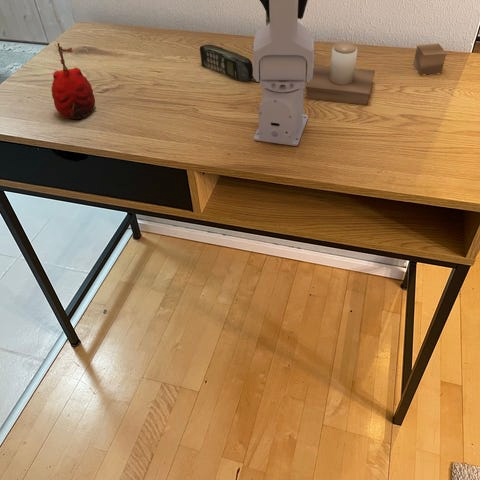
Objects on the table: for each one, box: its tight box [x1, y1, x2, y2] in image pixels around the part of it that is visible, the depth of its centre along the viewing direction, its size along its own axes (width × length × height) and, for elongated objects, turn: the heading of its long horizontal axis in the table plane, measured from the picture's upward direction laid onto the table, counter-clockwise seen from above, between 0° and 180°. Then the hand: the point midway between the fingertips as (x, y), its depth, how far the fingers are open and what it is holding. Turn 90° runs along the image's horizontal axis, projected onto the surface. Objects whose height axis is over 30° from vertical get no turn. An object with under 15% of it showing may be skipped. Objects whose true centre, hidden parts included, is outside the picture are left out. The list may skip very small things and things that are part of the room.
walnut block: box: [412, 43, 447, 76], centre depth 103 cm, size 4×4×4 cm
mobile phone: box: [199, 44, 260, 84], centre depth 105 cm, size 5×3×15 cm
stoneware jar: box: [329, 40, 358, 85], centre depth 96 cm, size 5×5×6 cm
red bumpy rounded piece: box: [50, 42, 96, 120], centre depth 93 cm, size 8×7×15 cm
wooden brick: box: [305, 64, 376, 106], centre depth 99 cm, size 9×12×2 cm
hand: (287, 24), depth 99 cm, fingers open, 7 cm apart
